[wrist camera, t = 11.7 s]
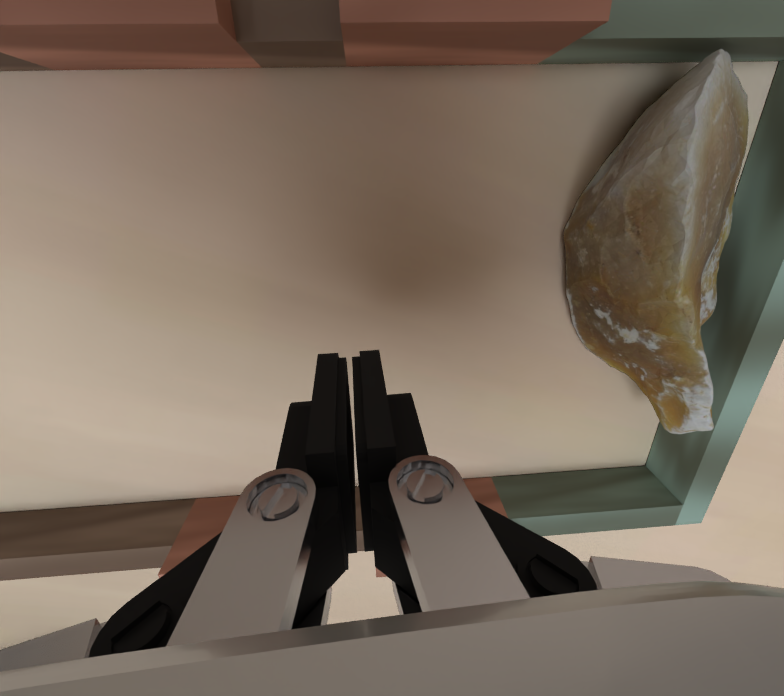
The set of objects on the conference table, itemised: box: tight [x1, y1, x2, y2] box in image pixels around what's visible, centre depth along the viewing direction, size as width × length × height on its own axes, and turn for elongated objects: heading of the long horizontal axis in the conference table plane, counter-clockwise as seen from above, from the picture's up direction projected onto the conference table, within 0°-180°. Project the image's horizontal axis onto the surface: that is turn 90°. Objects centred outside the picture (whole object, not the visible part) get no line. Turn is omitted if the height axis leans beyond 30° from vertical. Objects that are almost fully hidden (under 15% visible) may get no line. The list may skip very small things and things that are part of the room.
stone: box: [564, 49, 749, 434], centre depth 15 cm, size 7×6×15 cm
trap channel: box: [0, 0, 784, 581], centre depth 16 cm, size 23×40×4 cm, turn 91°
